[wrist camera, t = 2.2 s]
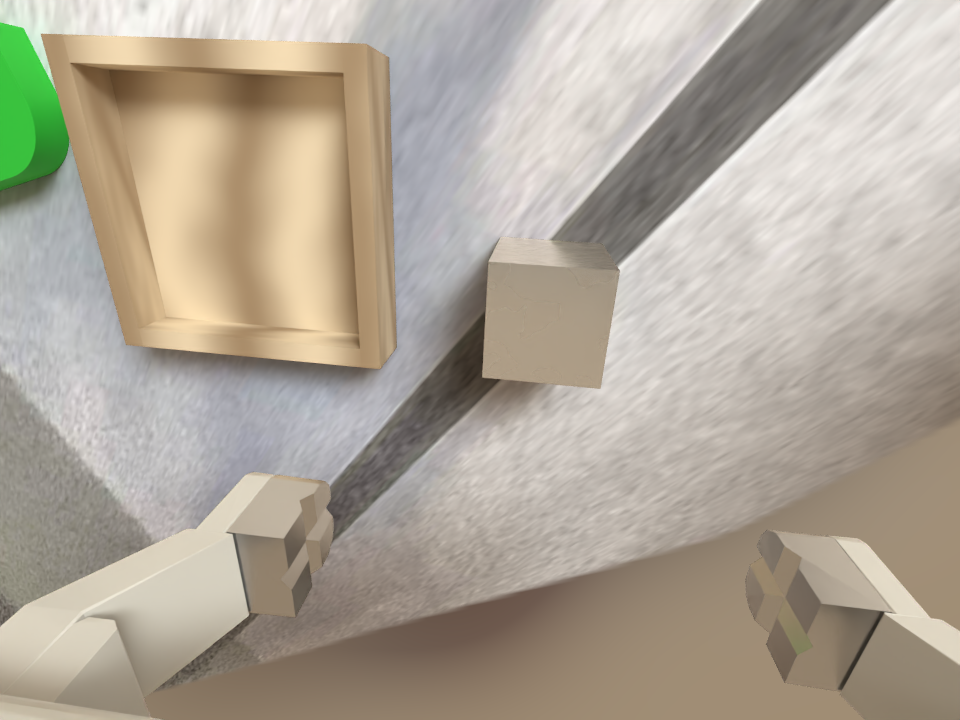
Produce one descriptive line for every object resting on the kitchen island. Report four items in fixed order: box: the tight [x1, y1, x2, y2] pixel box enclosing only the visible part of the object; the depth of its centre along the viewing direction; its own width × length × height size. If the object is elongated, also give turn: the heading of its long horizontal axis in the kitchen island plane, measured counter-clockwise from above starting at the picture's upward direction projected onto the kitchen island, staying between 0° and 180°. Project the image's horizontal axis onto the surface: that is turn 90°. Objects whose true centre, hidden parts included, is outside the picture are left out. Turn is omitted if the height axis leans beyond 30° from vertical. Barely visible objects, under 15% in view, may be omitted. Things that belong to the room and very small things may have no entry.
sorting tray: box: [41, 34, 397, 369], centre depth 23 cm, size 14×14×3 cm
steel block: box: [482, 237, 620, 389], centre depth 22 cm, size 5×5×6 cm
